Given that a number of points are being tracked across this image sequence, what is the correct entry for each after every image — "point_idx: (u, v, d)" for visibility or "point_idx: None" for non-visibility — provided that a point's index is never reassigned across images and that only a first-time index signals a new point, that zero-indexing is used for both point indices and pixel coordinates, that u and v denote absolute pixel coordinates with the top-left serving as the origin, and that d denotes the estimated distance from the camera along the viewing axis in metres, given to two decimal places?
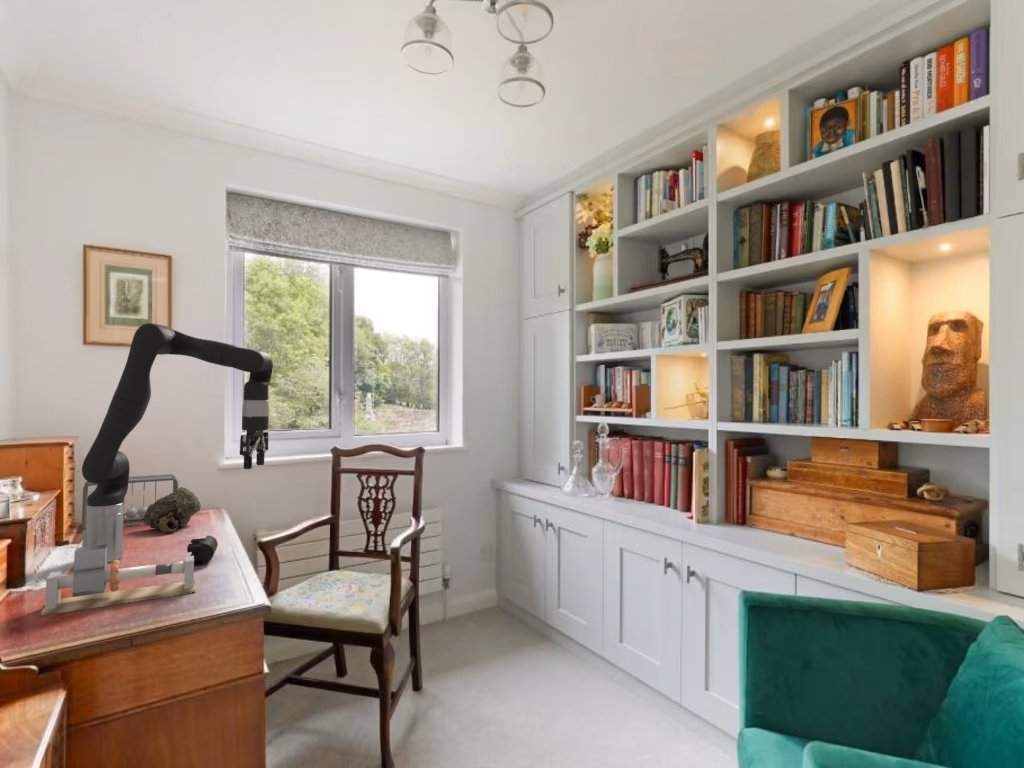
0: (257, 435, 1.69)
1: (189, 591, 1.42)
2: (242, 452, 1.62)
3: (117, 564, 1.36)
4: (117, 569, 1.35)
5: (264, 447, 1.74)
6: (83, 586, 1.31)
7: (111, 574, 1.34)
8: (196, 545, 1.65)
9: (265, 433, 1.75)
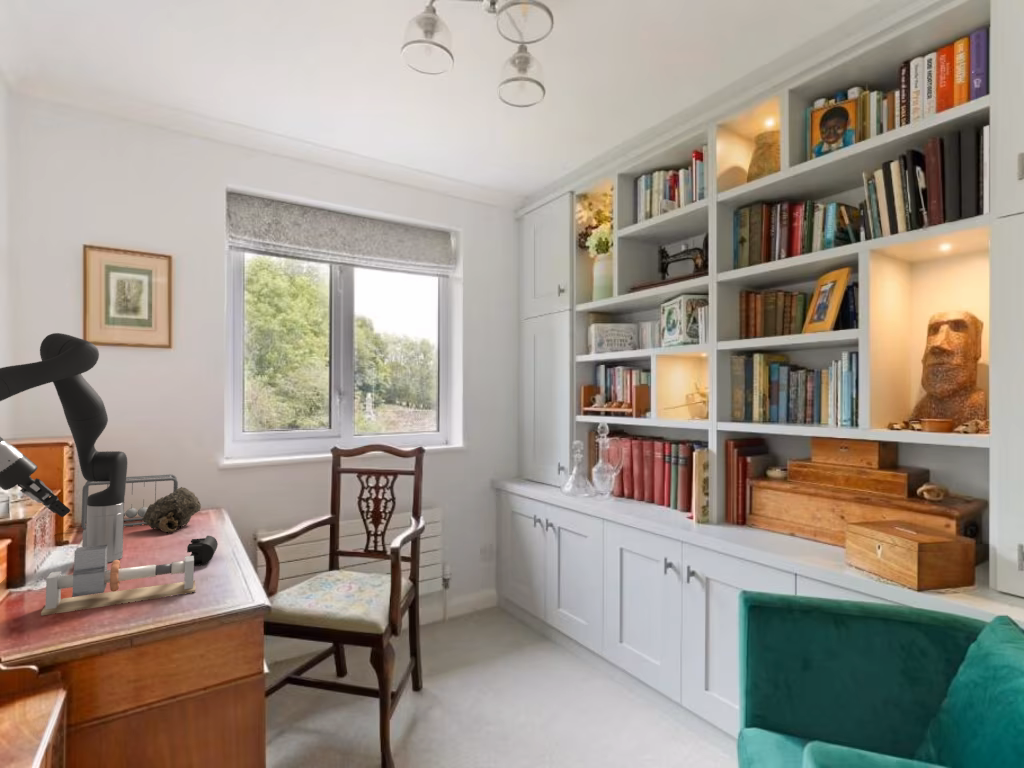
0: (22, 487, 1.27)
1: (189, 591, 1.42)
2: None
3: (117, 564, 1.36)
4: (117, 569, 1.35)
5: (41, 501, 1.25)
6: (83, 586, 1.31)
7: (111, 574, 1.34)
8: (196, 545, 1.65)
9: None
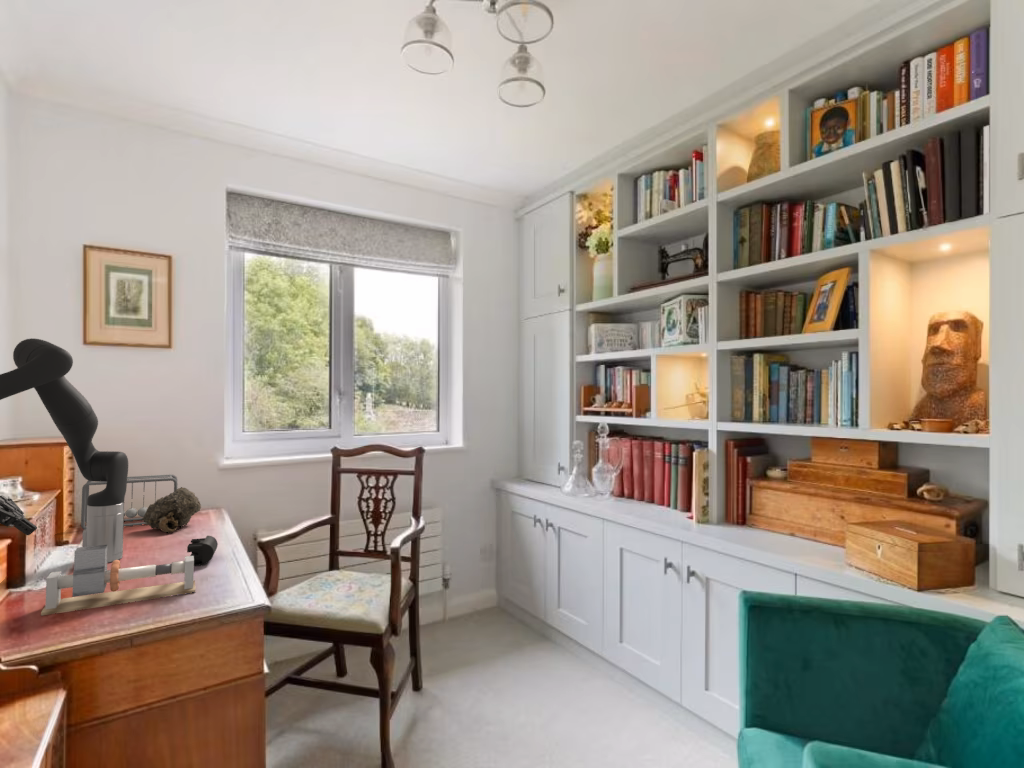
0: None
1: (189, 591, 1.42)
2: None
3: (117, 564, 1.36)
4: (117, 569, 1.35)
5: None
6: (83, 586, 1.31)
7: (111, 574, 1.34)
8: (196, 545, 1.65)
9: None
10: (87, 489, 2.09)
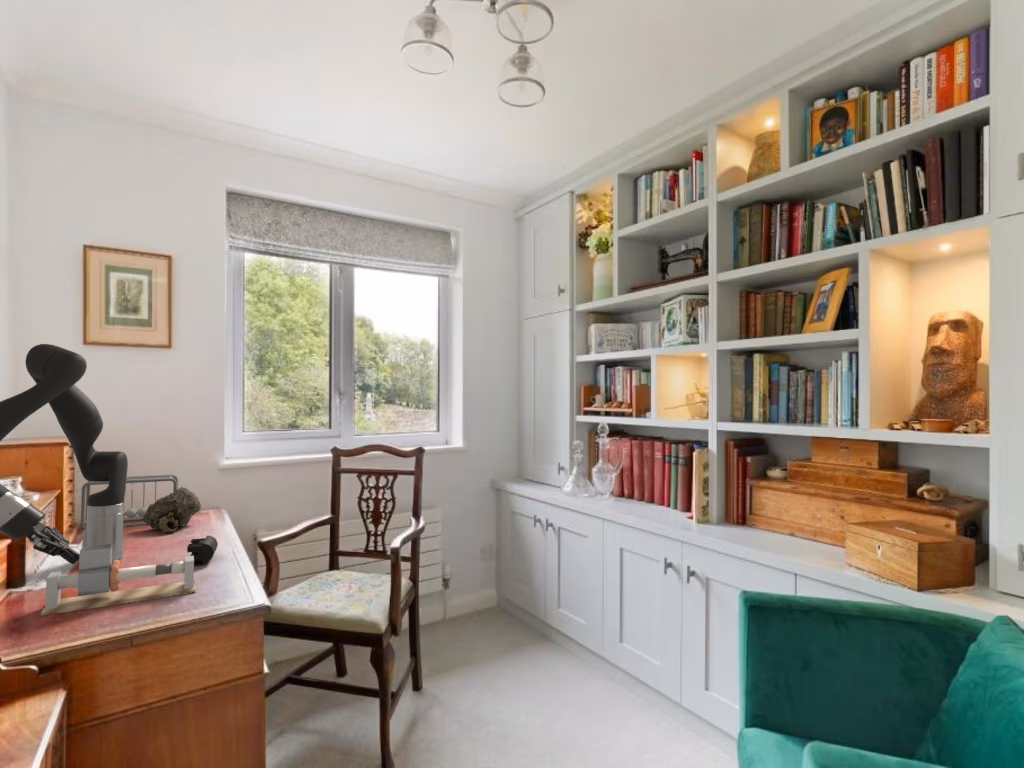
0: None
1: (189, 591, 1.42)
2: None
3: (117, 564, 1.36)
4: (117, 569, 1.35)
5: None
6: (88, 585, 1.32)
7: (111, 574, 1.34)
8: (196, 545, 1.65)
9: None
10: (88, 489, 2.10)
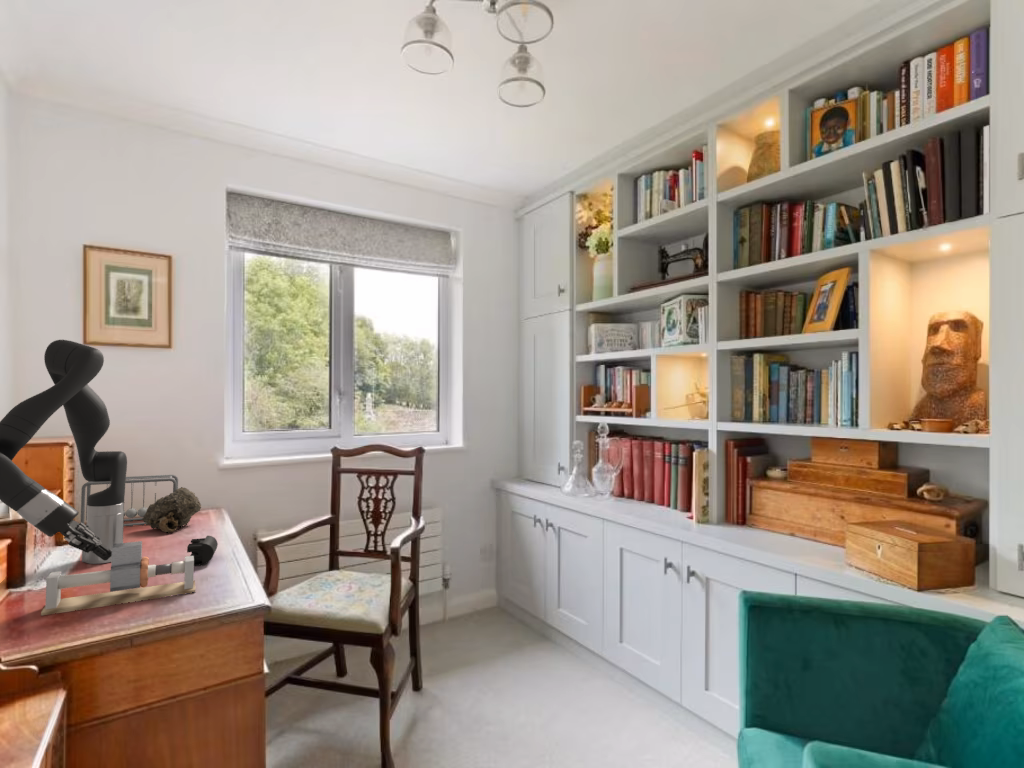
0: None
1: (189, 591, 1.42)
2: None
3: (146, 561, 1.39)
4: (146, 565, 1.38)
5: (84, 548, 1.33)
6: (120, 581, 1.35)
7: (141, 570, 1.37)
8: (196, 545, 1.65)
9: None
10: (88, 489, 2.10)
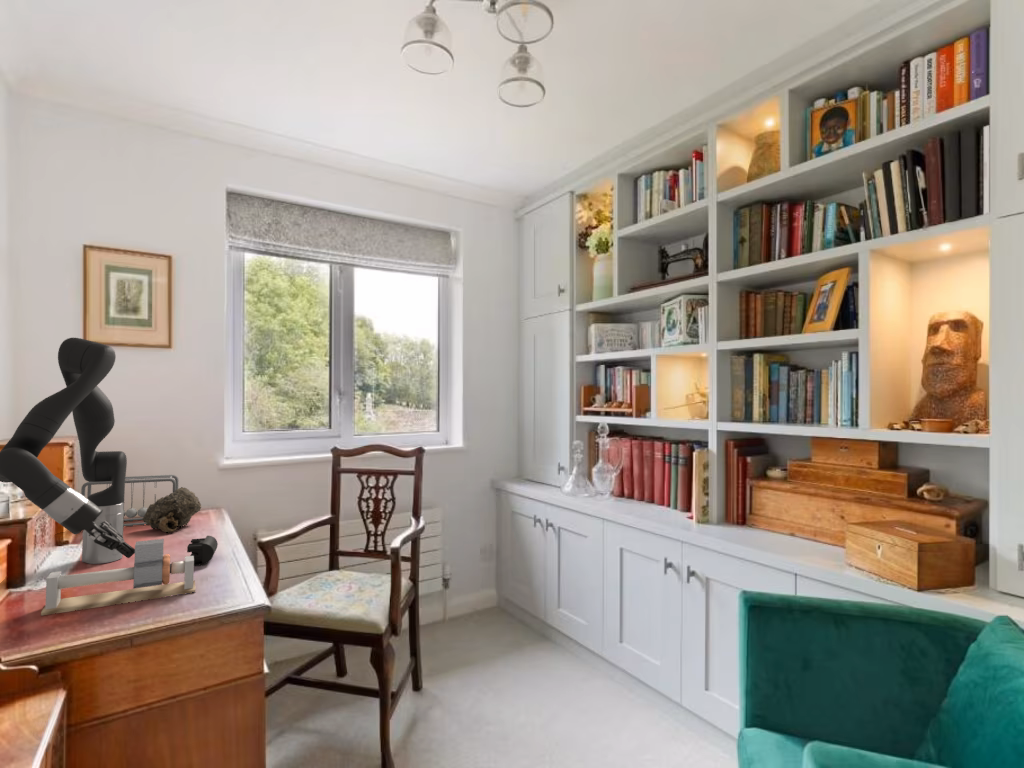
0: None
1: (189, 591, 1.42)
2: None
3: (168, 558, 1.42)
4: (168, 563, 1.41)
5: None
6: (143, 578, 1.38)
7: (163, 567, 1.40)
8: (196, 545, 1.65)
9: None
10: (89, 488, 2.10)
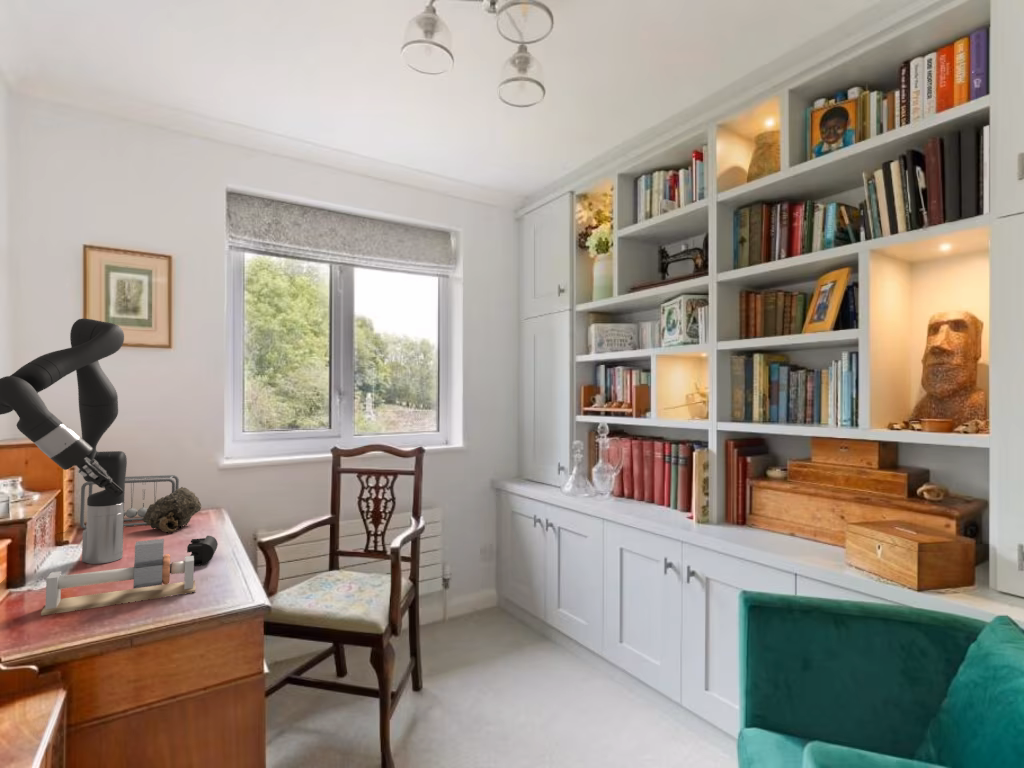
0: None
1: (189, 591, 1.42)
2: None
3: (168, 558, 1.42)
4: (168, 563, 1.41)
5: None
6: (143, 578, 1.38)
7: (163, 567, 1.40)
8: (196, 545, 1.65)
9: None
10: (90, 488, 2.11)
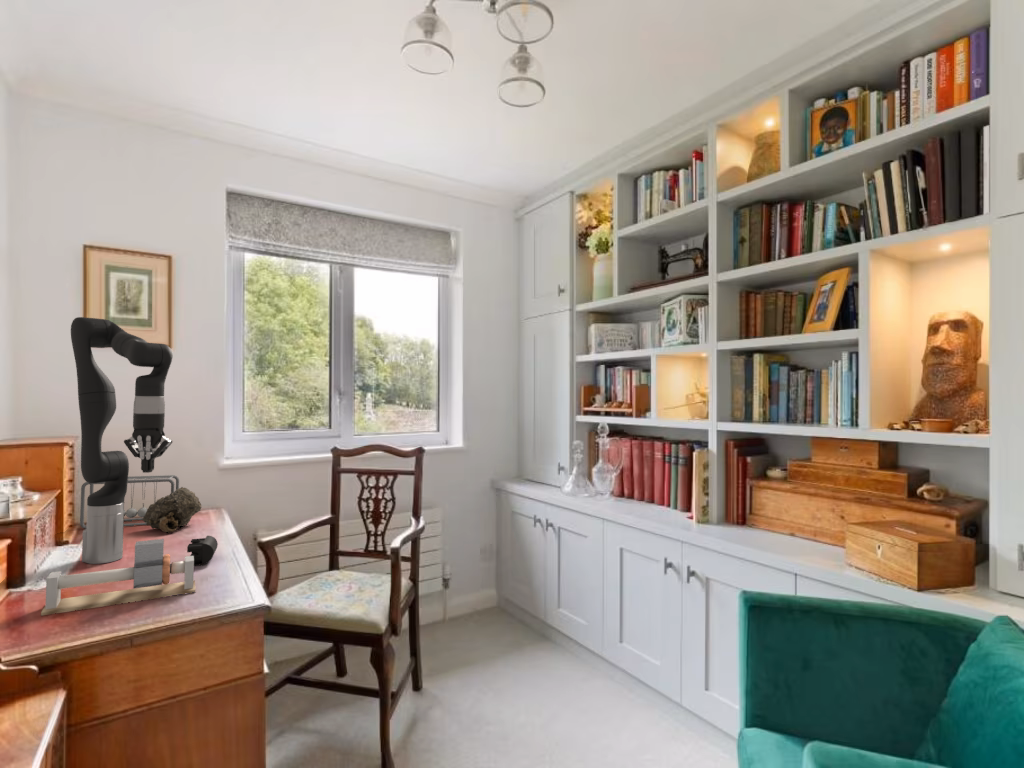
0: (143, 434, 1.56)
1: (189, 591, 1.42)
2: None
3: (168, 558, 1.42)
4: (168, 563, 1.41)
5: (149, 453, 1.56)
6: (143, 578, 1.38)
7: (163, 567, 1.40)
8: (196, 545, 1.65)
9: None
10: (91, 488, 2.12)
